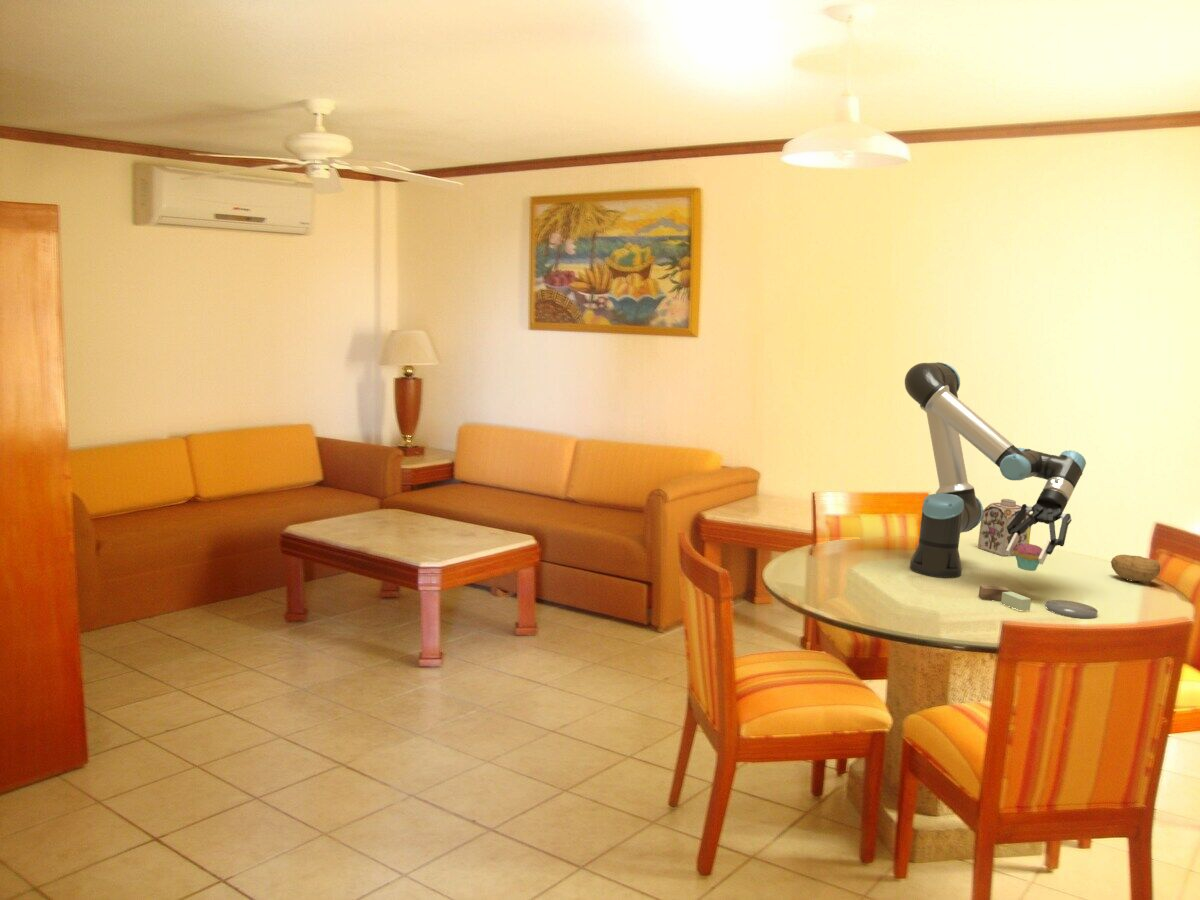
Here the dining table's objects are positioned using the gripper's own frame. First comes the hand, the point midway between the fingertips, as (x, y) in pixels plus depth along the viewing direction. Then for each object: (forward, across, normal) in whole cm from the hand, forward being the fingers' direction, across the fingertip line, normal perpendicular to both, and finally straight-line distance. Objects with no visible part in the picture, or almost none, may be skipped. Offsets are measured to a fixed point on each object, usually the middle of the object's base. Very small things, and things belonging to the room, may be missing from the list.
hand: (1024, 557), depth 287 cm
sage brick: (+15, +3, +2) cm, 16 cm away
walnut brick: (+14, -4, +4) cm, 15 cm away
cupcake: (0, 0, +5) cm, 5 cm away
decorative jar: (-30, -28, +49) cm, 64 cm away
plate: (+8, +14, +9) cm, 19 cm away
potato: (-30, +14, +47) cm, 58 cm away
